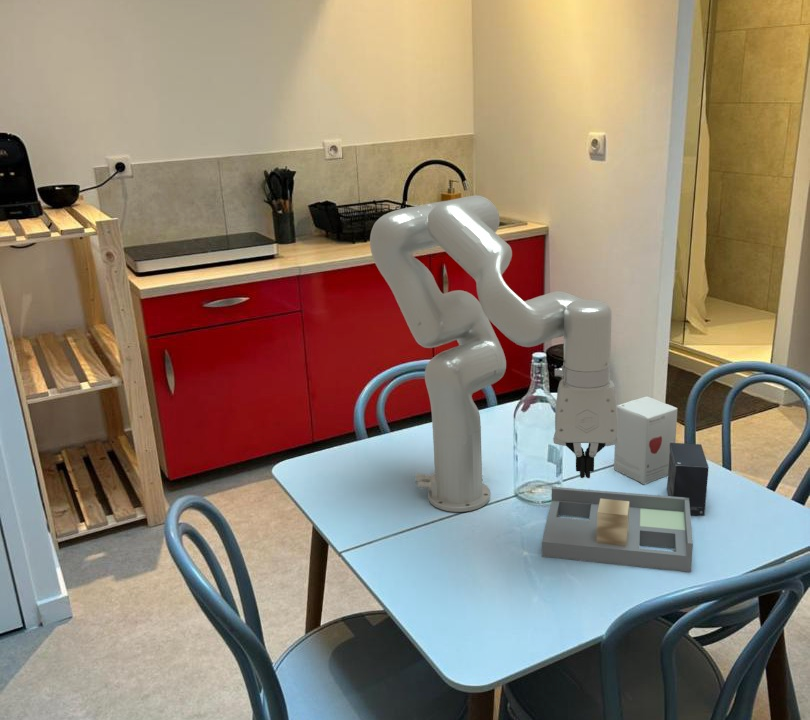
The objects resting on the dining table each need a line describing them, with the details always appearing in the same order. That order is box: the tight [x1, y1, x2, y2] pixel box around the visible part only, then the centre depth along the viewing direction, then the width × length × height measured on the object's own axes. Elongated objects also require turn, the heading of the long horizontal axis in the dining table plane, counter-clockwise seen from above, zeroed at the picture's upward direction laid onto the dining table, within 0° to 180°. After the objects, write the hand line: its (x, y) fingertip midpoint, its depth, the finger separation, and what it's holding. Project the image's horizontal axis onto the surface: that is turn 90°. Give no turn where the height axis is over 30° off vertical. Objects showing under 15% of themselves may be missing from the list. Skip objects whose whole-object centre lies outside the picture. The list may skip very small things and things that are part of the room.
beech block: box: [597, 498, 629, 546], centre depth 144 cm, size 5×5×6 cm
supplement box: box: [613, 395, 678, 485], centre depth 171 cm, size 9×9×15 cm
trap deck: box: [541, 486, 694, 573], centre depth 148 cm, size 25×16×6 cm, turn 74°
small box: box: [666, 442, 709, 516], centre depth 159 cm, size 11×6×10 cm, turn 168°
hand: (584, 474), depth 142 cm, fingers closed
